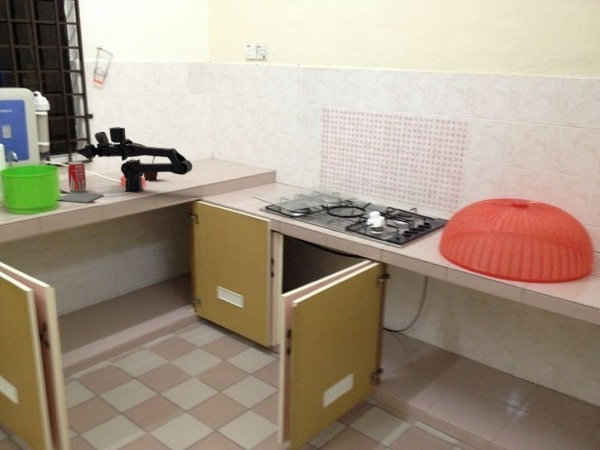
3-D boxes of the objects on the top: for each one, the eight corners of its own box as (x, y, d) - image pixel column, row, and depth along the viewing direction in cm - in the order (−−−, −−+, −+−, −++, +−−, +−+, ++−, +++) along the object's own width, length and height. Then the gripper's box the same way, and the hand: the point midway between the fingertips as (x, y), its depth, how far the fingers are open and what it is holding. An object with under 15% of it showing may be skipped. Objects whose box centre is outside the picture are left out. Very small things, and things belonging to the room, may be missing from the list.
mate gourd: (143, 178, 280) (142, 149, 276) (159, 178, 282) (159, 149, 278) (143, 181, 273) (142, 151, 269) (159, 181, 275) (158, 152, 271)
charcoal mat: (103, 195, 242) (103, 194, 242) (86, 203, 229) (86, 201, 229) (74, 193, 244) (73, 191, 244) (55, 200, 231) (55, 199, 230)
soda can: (89, 189, 252) (87, 161, 248) (81, 193, 245) (79, 164, 241) (74, 188, 253) (72, 160, 249) (66, 191, 246) (64, 163, 242)
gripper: (121, 132, 258) (90, 133, 261) (100, 132, 240) (68, 133, 243) (123, 156, 260) (92, 156, 263) (103, 158, 242) (70, 158, 245)
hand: (81, 150), depth 253 cm, fingers open, 9 cm apart
